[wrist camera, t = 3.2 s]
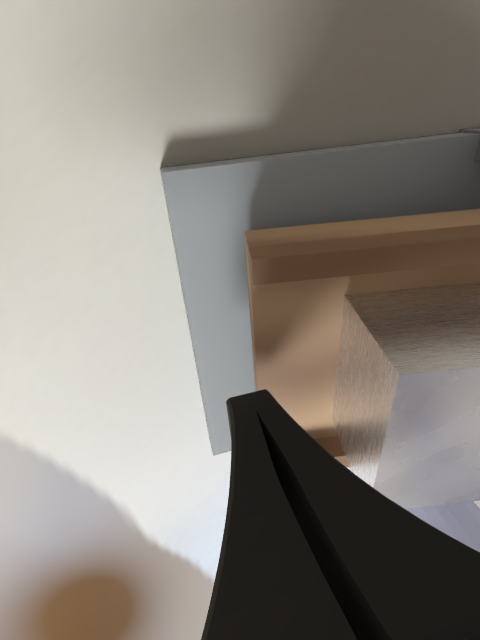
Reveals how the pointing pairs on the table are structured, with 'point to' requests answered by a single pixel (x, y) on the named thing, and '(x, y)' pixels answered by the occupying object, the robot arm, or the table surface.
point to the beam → (339, 296)
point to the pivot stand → (285, 211)
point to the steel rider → (412, 392)
